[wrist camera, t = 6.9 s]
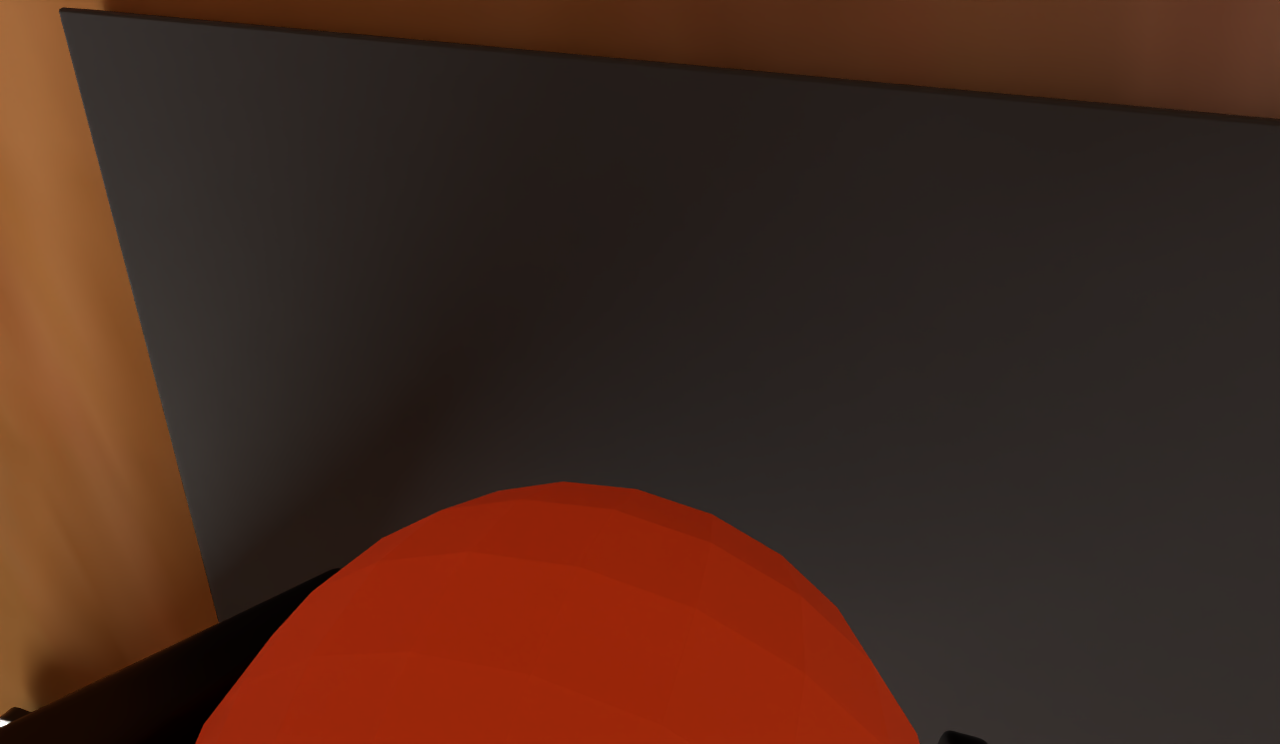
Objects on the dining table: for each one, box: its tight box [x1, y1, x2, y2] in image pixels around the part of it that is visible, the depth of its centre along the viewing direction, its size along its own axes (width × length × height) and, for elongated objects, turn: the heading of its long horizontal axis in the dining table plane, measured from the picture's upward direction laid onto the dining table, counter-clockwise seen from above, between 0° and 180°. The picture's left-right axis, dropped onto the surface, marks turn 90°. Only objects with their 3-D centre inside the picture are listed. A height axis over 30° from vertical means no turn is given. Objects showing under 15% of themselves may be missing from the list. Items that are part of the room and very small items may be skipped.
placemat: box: [59, 8, 1280, 744], centre depth 11 cm, size 20×13×1 cm, turn 85°
